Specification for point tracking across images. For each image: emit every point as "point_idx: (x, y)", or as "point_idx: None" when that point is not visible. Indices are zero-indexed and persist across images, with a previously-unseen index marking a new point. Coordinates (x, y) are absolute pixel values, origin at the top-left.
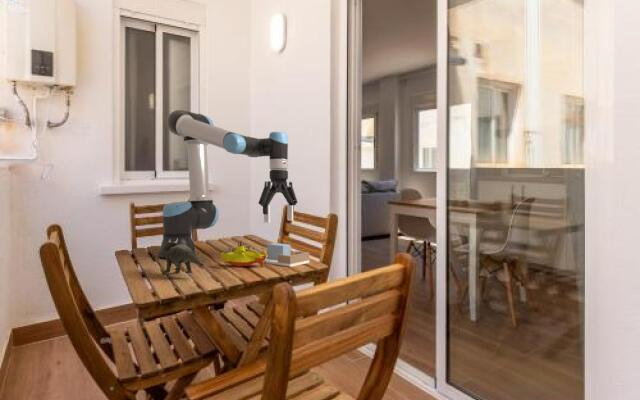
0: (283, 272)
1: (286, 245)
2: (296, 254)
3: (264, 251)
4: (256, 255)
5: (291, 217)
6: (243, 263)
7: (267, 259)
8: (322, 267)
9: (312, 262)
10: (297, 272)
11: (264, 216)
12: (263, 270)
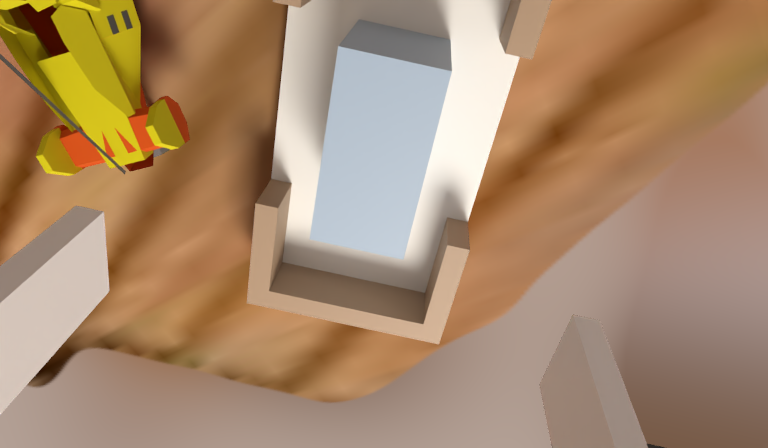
0: (130, 296)
1: (351, 248)
2: (331, 305)
3: (158, 144)
4: (50, 147)
5: (549, 415)
6: (42, 19)
7: (319, 49)
8: (344, 396)
9: (453, 313)
10: (174, 347)
11: (19, 265)
12: (92, 186)
